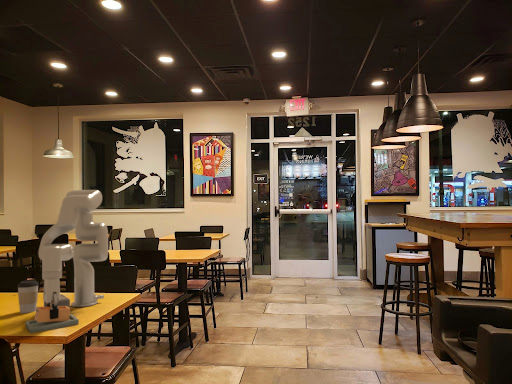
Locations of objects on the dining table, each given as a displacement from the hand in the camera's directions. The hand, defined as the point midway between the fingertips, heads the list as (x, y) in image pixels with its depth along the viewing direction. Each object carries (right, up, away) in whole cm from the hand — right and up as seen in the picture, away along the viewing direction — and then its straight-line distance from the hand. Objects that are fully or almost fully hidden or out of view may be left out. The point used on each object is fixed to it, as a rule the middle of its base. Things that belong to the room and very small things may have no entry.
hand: (52, 316), depth 166 cm
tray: (0, -4, 0) cm, 4 cm away
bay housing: (-6, -5, +16) cm, 18 cm away
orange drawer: (0, -1, 0) cm, 1 cm away
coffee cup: (-25, -6, +25) cm, 36 cm away
